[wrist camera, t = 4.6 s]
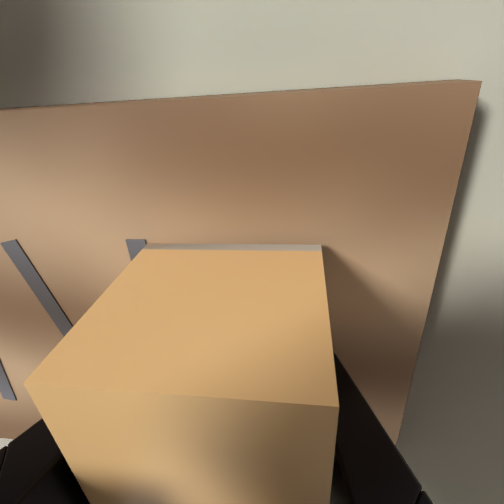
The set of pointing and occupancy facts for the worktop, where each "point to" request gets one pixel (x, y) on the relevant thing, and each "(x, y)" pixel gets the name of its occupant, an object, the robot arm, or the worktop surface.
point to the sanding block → (199, 380)
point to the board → (234, 210)
